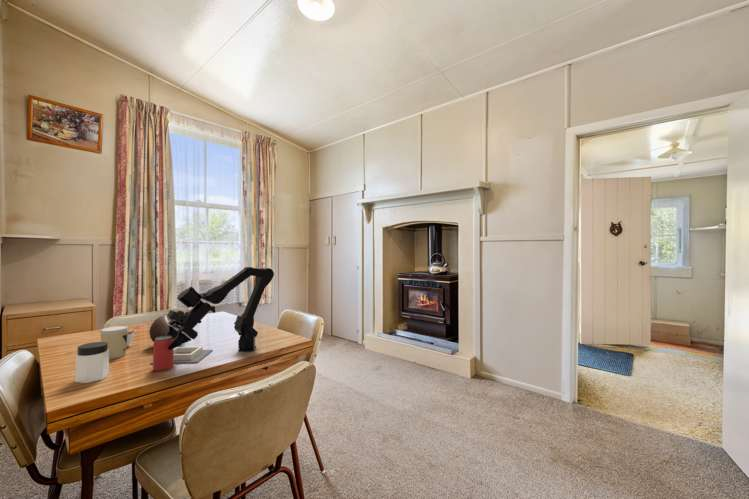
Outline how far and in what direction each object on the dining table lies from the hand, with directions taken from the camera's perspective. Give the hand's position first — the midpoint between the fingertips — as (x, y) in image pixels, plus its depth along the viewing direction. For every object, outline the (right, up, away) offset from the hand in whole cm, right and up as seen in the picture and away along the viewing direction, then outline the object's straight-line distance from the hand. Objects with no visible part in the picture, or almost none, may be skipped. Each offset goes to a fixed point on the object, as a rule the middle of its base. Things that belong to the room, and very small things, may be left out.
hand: (165, 346), depth 124 cm
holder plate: (0, -8, +13) cm, 15 cm away
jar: (-19, -8, -11) cm, 23 cm away
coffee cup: (-31, -8, +13) cm, 34 cm away
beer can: (0, -9, 0) cm, 8 cm away
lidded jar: (-38, -8, +25) cm, 47 cm away
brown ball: (-17, -9, +29) cm, 35 cm away
